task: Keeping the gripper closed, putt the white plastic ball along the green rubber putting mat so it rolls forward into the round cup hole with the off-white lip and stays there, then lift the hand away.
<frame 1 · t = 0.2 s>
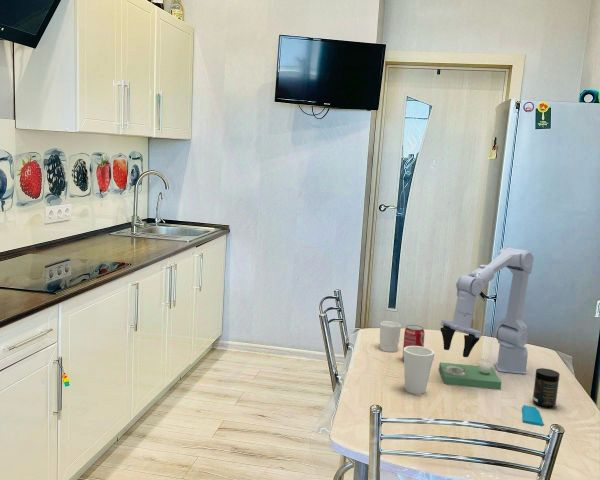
hand: (455, 353, 191), 11 cm above the table, tool pointing down, fingers open, 7 cm apart
sponge: (532, 418, 171), on the table
putting mat: (468, 378, 198), on the table
soda can: (411, 362, 212), on the table
ball: (485, 367, 197), point 4 cm above the table, touching putting mat
supplement container: (543, 405, 180), on the table
white cup: (388, 349, 225), on the table
foam cup: (415, 390, 185), on the table
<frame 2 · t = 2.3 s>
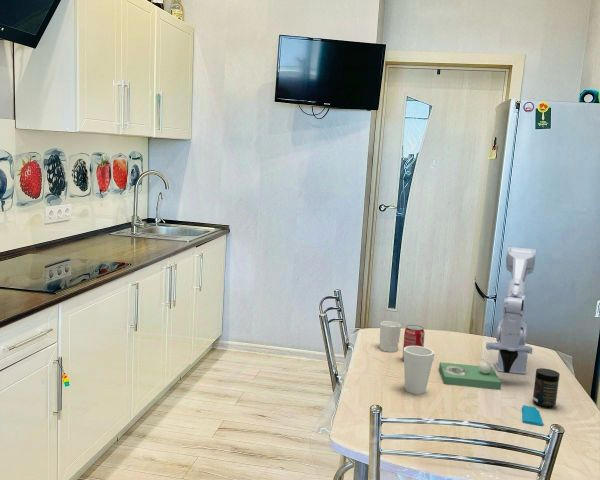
hand: (506, 371, 196), 4 cm above the table, tool pointing down, fingers closed
nothing on the table moved.
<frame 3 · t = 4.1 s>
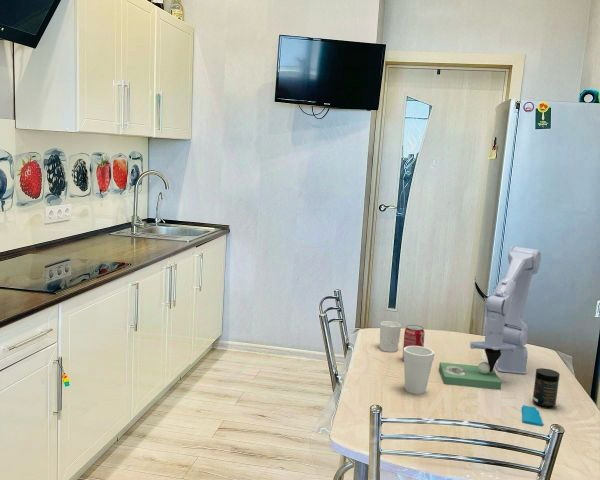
hand: (490, 370, 197), 4 cm above the table, tool pointing down, fingers closed, pressing on ball
ball: (484, 367, 197), point 4 cm above the table, tilted 10°, touching gripper, putting mat
everything else where it was.
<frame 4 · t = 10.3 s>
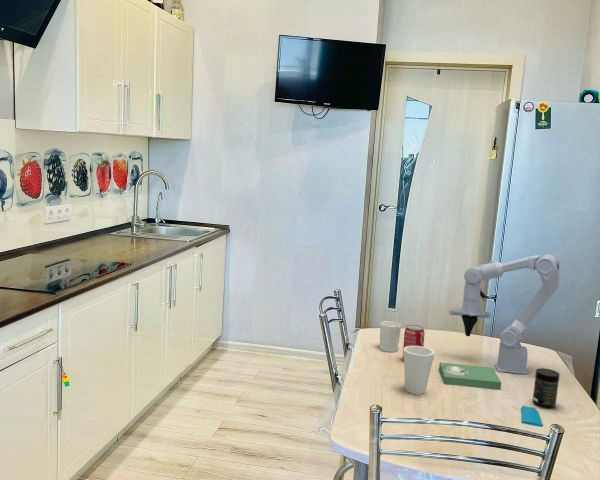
hand: (467, 335, 216), 9 cm above the table, tool pointing down, fingers closed
ball: (455, 372, 198), point 2 cm above the table, tilted 61°
everything else where it was.
at the end: ball 0.5 cm from the target spot on the putting mat, point 2.0 cm above the putting mat's base; the gripper is holding nothing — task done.
